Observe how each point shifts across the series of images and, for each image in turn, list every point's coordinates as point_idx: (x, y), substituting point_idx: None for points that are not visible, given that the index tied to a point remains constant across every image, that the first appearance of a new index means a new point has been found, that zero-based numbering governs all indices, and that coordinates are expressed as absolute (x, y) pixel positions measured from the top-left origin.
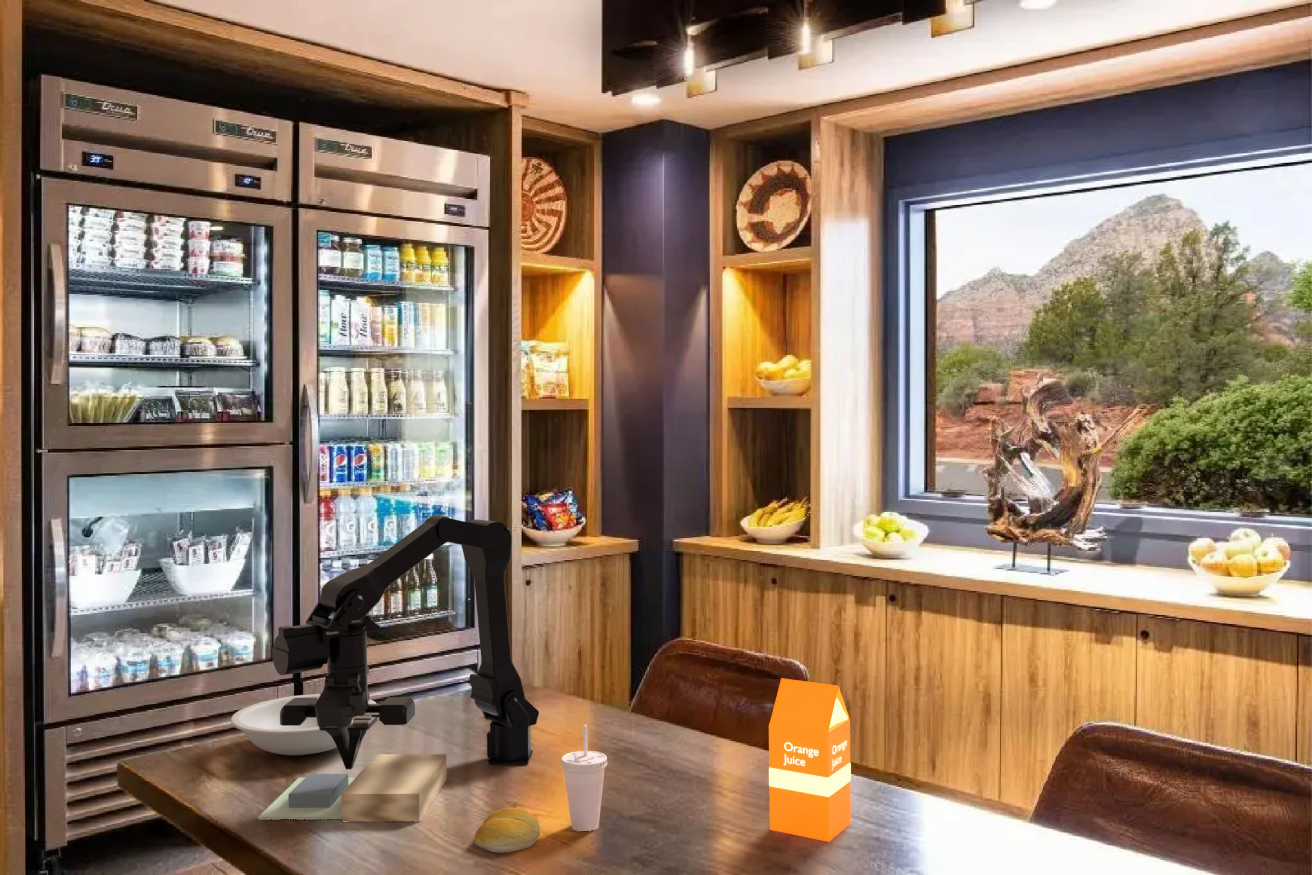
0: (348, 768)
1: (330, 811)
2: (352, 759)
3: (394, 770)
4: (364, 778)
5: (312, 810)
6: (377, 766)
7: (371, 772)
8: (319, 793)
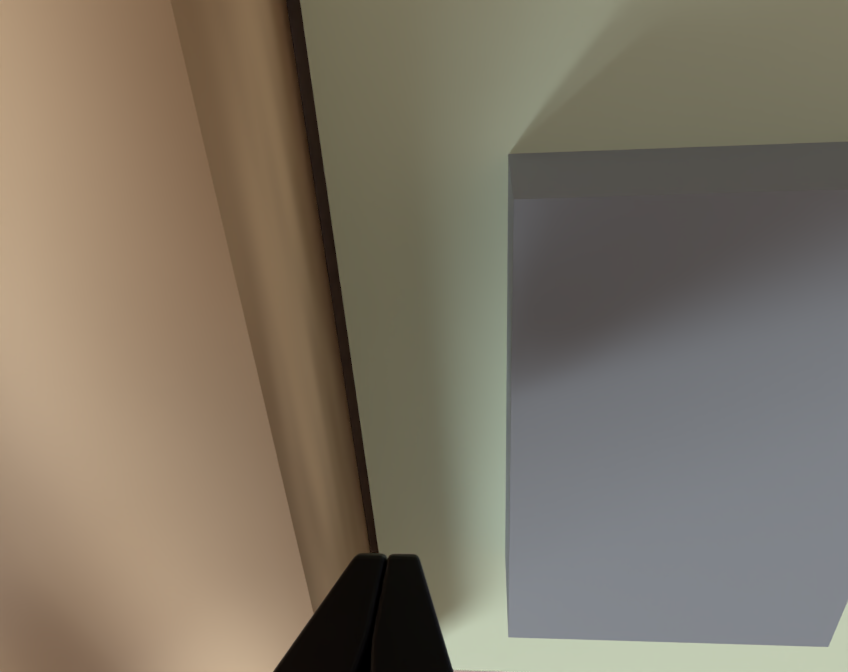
0: (386, 558)
1: (465, 46)
2: (300, 644)
3: (8, 578)
4: (159, 401)
5: (661, 67)
6: (219, 656)
7: (186, 543)
8: (635, 213)
